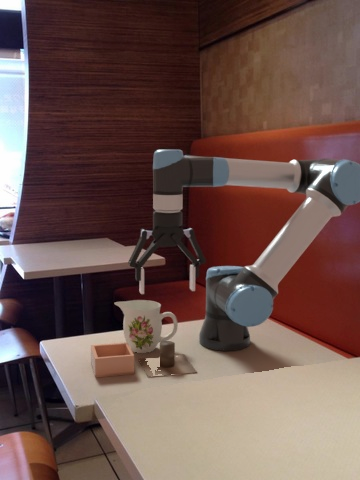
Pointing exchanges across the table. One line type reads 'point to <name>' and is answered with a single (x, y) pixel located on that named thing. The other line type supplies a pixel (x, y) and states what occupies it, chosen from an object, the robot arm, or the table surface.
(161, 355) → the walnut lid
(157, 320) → the pitcher
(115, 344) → the terracotta dish
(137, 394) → the table surface
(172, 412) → the table surface
